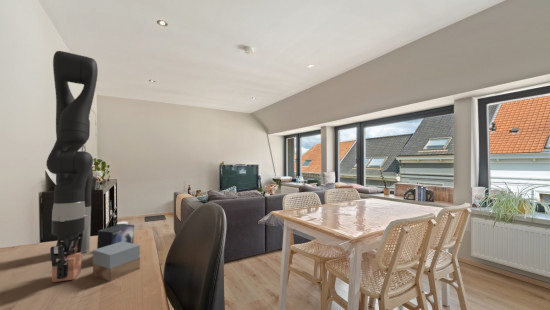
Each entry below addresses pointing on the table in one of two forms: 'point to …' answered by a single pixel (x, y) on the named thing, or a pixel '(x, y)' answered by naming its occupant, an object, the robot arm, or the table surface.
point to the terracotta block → (69, 268)
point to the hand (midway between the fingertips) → (66, 273)
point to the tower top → (115, 254)
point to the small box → (115, 235)
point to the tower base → (116, 270)
